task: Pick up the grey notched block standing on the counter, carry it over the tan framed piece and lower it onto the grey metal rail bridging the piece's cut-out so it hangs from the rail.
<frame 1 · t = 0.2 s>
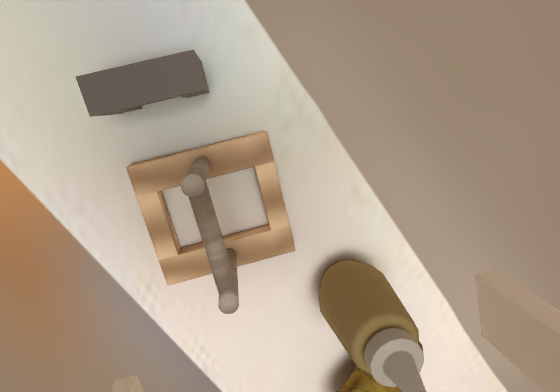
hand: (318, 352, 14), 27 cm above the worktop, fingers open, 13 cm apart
tan framed piece: (216, 206, 40), on the worktop
grey notched block: (160, 87, 36), on the worktop
potato: (368, 361, 47), on the worktop
squeeze bottle: (344, 281, 44), on the worktop
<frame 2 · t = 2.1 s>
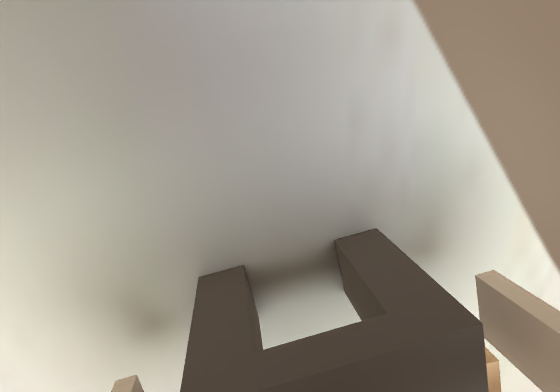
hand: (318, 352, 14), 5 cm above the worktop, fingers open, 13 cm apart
grey notched block: (295, 279, 18), on the worktop
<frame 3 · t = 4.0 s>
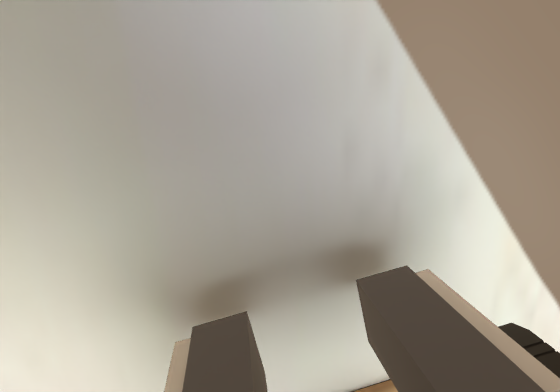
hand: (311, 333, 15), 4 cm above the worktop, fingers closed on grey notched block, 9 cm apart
grey notched block: (309, 326, 15), point 4 cm above the worktop, touching gripper
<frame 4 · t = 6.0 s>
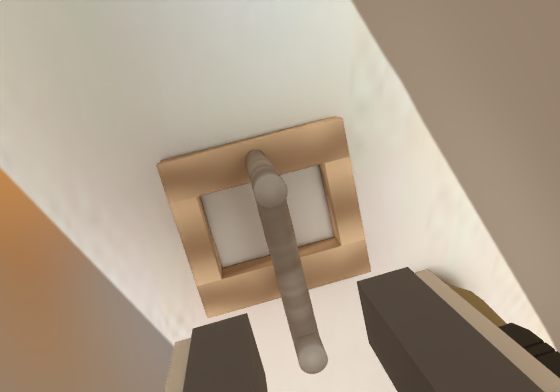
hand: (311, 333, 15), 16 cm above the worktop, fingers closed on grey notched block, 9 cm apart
tan framed piece: (269, 214, 31), on the worktop
grey notched block: (310, 328, 15), point 16 cm above the worktop, touching gripper
squeeze bottle: (423, 307, 35), on the worktop
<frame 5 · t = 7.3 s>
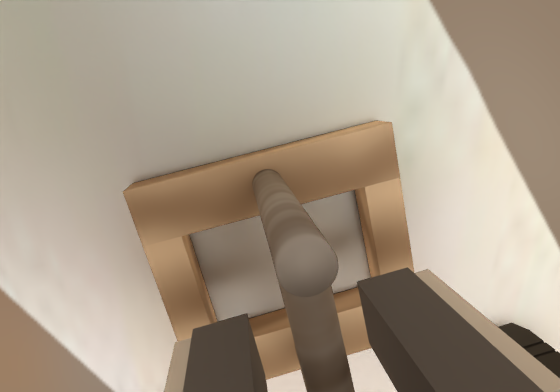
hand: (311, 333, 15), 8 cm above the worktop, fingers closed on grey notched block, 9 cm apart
tan framed piece: (284, 255, 22), on the worktop
grey notched block: (310, 328, 15), point 7 cm above the worktop, touching gripper
when the fingers open (5 cm above the worktop, at t = 8.5 s): grey notched block stays where it is, resting on tan framed piece.
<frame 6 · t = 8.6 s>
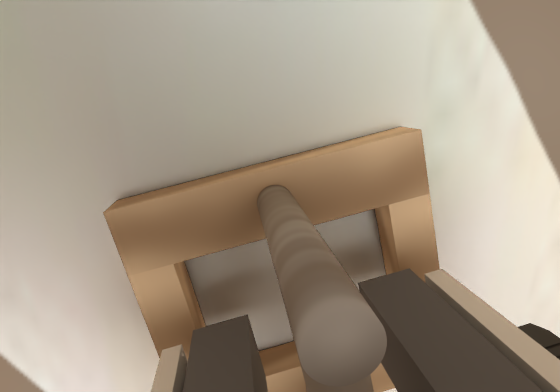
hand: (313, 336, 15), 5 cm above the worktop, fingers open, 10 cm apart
tan framed piece: (293, 281, 19), on the worktop
grey notched block: (311, 330, 15), point 4 cm above the worktop, touching tan framed piece
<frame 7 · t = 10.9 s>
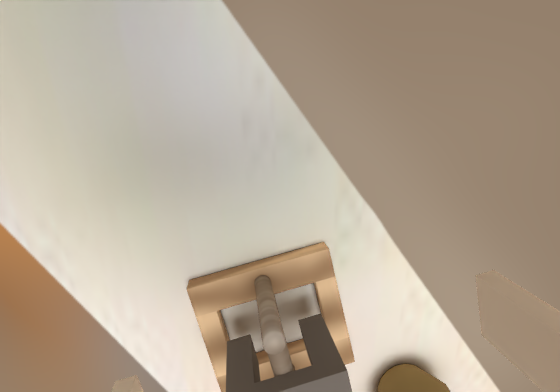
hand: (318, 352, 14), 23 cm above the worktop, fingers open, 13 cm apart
tan framed piece: (273, 316, 39), on the worktop
grey notched block: (278, 341, 34), point 4 cm above the worktop, touching tan framed piece
squeeze bottle: (400, 383, 43), on the worktop
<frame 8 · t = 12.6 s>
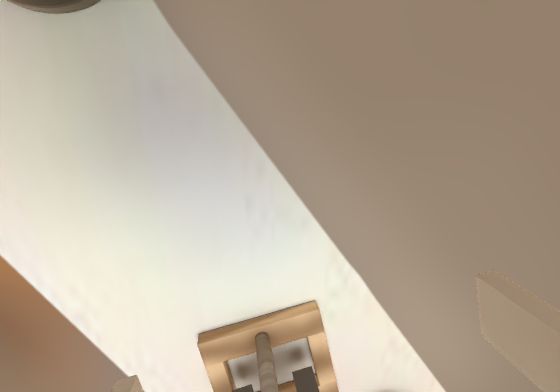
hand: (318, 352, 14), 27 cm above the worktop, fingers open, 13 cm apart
tan framed piece: (270, 362, 45), on the worktop
grey notched block: (275, 389, 41), point 4 cm above the worktop, touching tan framed piece
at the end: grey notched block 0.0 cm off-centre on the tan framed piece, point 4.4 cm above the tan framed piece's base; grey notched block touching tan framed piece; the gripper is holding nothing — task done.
